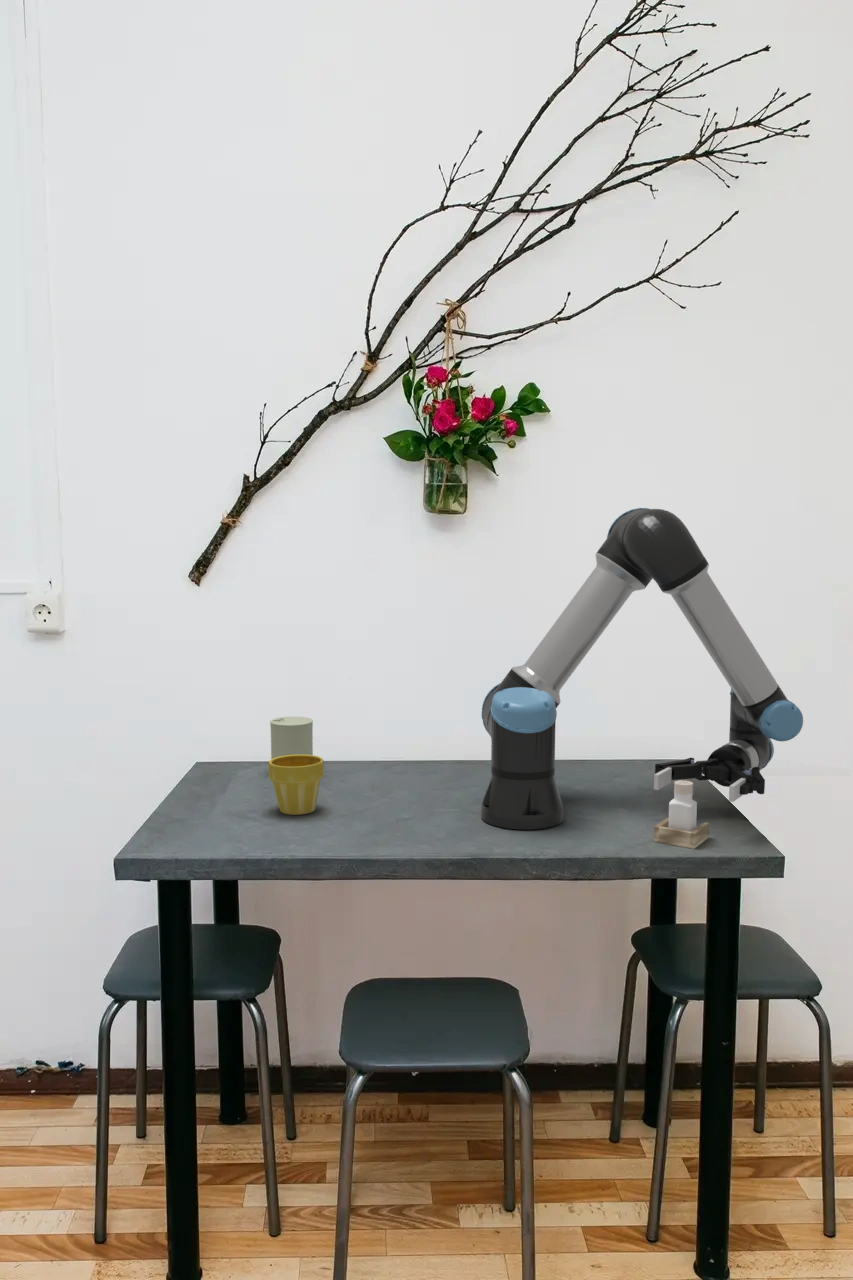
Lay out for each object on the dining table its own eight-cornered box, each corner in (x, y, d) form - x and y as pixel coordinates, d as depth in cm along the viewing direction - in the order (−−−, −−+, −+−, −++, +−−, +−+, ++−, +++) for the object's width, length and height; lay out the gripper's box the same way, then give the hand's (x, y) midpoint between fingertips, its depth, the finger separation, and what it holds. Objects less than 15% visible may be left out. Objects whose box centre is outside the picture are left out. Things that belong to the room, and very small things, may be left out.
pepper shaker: (696, 835, 185) (698, 781, 184) (689, 841, 182) (691, 786, 180) (674, 831, 187) (676, 778, 186) (666, 837, 184) (668, 783, 182)
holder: (653, 841, 183) (654, 826, 183) (668, 830, 189) (669, 816, 189) (694, 848, 179) (695, 833, 179) (708, 837, 185) (709, 823, 185)
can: (277, 767, 235) (276, 713, 233) (318, 768, 233) (317, 715, 232) (265, 777, 225) (264, 722, 224) (307, 779, 224) (307, 723, 223)
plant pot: (263, 806, 204) (262, 756, 203) (315, 800, 208) (315, 751, 207) (277, 820, 195) (276, 768, 194) (331, 814, 199) (330, 763, 198)
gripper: (798, 792, 197) (763, 820, 179) (669, 773, 211) (625, 798, 193) (800, 752, 196) (765, 777, 178) (670, 736, 210) (626, 757, 192)
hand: (692, 788), depth 186 cm, fingers open, 13 cm apart
